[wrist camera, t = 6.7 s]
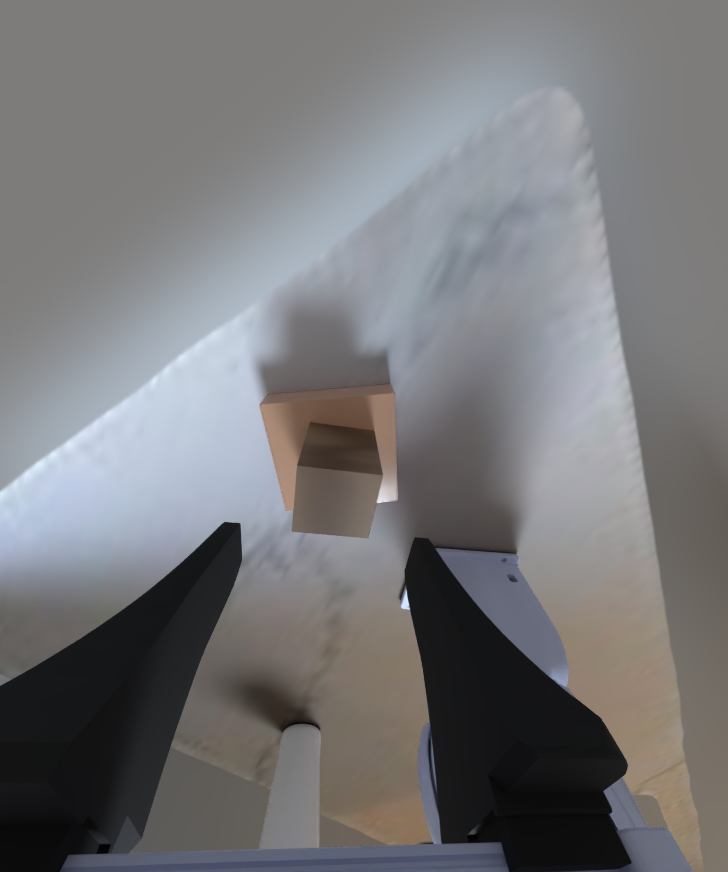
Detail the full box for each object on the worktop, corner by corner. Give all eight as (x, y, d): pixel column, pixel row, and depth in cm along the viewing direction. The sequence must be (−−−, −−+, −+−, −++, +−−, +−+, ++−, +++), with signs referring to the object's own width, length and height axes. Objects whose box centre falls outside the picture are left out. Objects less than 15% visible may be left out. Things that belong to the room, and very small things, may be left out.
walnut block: (374, 430, 18) (383, 475, 14) (363, 483, 20) (368, 538, 15) (310, 422, 18) (296, 465, 13) (305, 476, 19) (291, 531, 15)
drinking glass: (278, 742, 41) (244, 960, 27) (275, 719, 38) (233, 952, 25) (326, 740, 41) (315, 954, 28) (326, 718, 38) (313, 945, 25)
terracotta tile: (389, 381, 19) (394, 393, 17) (393, 480, 23) (397, 500, 20) (270, 391, 19) (259, 404, 17) (292, 489, 23) (286, 510, 20)
